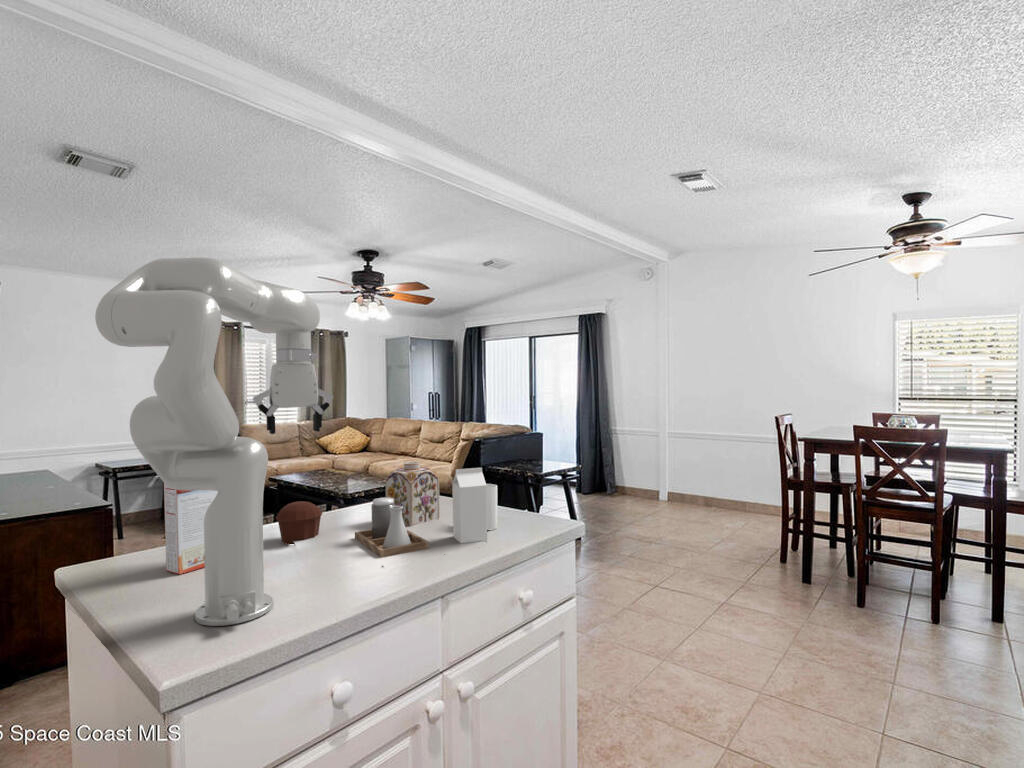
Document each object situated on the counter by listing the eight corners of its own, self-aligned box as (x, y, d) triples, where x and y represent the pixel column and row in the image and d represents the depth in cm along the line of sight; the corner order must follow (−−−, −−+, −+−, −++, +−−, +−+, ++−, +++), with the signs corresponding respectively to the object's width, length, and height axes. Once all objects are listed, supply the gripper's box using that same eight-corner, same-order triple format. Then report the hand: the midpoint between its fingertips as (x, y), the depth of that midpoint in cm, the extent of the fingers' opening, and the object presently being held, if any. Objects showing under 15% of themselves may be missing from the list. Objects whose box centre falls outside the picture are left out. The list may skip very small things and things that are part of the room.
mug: (503, 528, 154) (502, 485, 154) (485, 532, 149) (484, 489, 149) (479, 522, 161) (479, 481, 161) (462, 526, 156) (461, 484, 156)
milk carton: (487, 543, 138) (486, 469, 138) (460, 547, 136) (459, 471, 136) (478, 536, 145) (477, 465, 145) (453, 540, 142) (452, 467, 142)
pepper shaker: (399, 539, 140) (398, 499, 140) (376, 543, 137) (375, 503, 137) (390, 534, 145) (390, 496, 145) (368, 538, 142) (368, 499, 142)
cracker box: (224, 554, 133) (223, 469, 133) (239, 557, 130) (238, 470, 130) (163, 571, 121) (162, 477, 121) (178, 575, 118) (177, 479, 118)
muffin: (329, 534, 150) (328, 498, 150) (313, 545, 139) (313, 506, 139) (286, 534, 151) (286, 498, 151) (268, 546, 139) (267, 507, 140)
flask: (404, 552, 129) (404, 510, 129) (376, 551, 130) (376, 509, 130) (416, 544, 136) (415, 504, 136) (389, 542, 137) (388, 503, 137)
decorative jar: (411, 530, 153) (410, 466, 153) (384, 524, 160) (383, 463, 160) (441, 521, 163) (440, 461, 163) (414, 516, 170) (413, 458, 170)
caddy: (428, 552, 132) (428, 541, 132) (381, 561, 125) (381, 550, 125) (398, 534, 149) (398, 525, 149) (354, 541, 142) (354, 532, 142)
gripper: (327, 359, 133) (328, 429, 133) (250, 358, 123) (251, 433, 123) (336, 357, 127) (337, 431, 126) (255, 356, 117) (256, 435, 117)
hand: (294, 432), depth 125 cm, fingers open, 9 cm apart
